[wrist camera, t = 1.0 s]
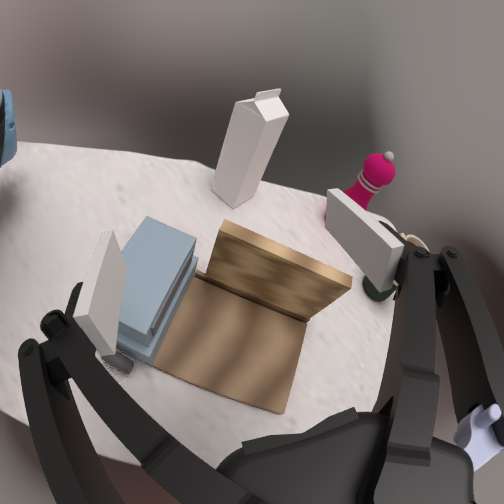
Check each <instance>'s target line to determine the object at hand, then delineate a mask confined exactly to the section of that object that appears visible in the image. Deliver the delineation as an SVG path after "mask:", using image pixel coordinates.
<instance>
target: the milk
mask: <svg viewBox="0 0 504 504" xmlns="http://www.w3.org/2000/svg"><path fill="white" fill-rule="evenodd" d="M280 92H281V89H274V90H269V91H263V92H258V93H257V94H256V96H255V98H253V99H248V100H244V101H240V102H236V103H235V107H234V110H233V113H232V116H231V120H230V123H229V126H228V130H227V133H226V137H225V141H224V144H223V147H222V151H221V155H220V159H219V161H218V165H217V169H216V173H215V176H214V180H213V184H212V188H211V190H212V191H213V192H214V193H215V194H216V195H217V196H219V197H220V198H221V199H222V200H223V201H224V202H225V203H227V204H228V205H229V206H230V207H231V208H232V209H234V208H236V207H237V206H239V205H240V204H242V203H243V202H245V201H246V200H248V199H250V198H251V197H253V196H254V194H255V191H256V189H257V187H258V184H259V182H260V180H261V177H262V175H263V172H264V171H265V168H266V166H267V164H268V161H269V159H270V157H271V154H272V152H273V150H274V148H275V145H276V143H277V141H278V139H279V136H280V134H281V132H282V130H283V127H284V125H285V123H286V120H287V118H288V116H289V114H288V112H287V110H286V109H285V107H284V105H283V104H282V102H281V100H280V99H279V94H280Z"/></svg>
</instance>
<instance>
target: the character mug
mask: <svg viewBox="0 0 504 504" xmlns="http://www.w3.org/2000/svg"><path fill="white" fill-rule="evenodd" d="M399 235H400V236H402V237H403V238H404V239H405V240H406V241H407V242H408V243H409V244H410V245H411V246H412V247H413V246H420V247H423V248H425V249H427V250H428V248H427V247H426V245H425V244H424V243H423V242H422V241H421V240H420V239H419V238H418V237H416V236H414V235H407V236H406V237H405V235H404V234H403V233H401V234H399ZM428 251H429V250H428ZM397 286H398V284H397V282H396V281H395V280H394V282H393V285H392V288H391V289H389V290H386V291H383V292H381V293H380V292H379V291H378V290H377V289H376V287H375V286H374V285H373V284H372V282H371V281H370V280H369V279H368V277H367V276H366V275H365V278H364V287H365V290H366V291H367V292H368V294H369V295H370V296H371V297H373V298H374V299H376V300H379V301H383V300H385V299H387V298H388V297H389V296H390V295H391V294H392V293H393V292H394V291H395V290H396V289H397Z"/></svg>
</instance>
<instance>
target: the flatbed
mask: <svg viewBox="0 0 504 504" xmlns="http://www.w3.org/2000/svg"><path fill="white" fill-rule="evenodd" d="M205 275H206V274H205V273H203V272H200V271H198V270H196V272H195V276H194V277H193V279H192V281H191V284H190V286H189V288H188V290H187V292H186V294H185V296H184V298H183V300H182V302H181V304H180V306H179V308H178V310H177V312H176V314H175V316H174V318H173V321H172V323H171V325H170V327H169V329H168V331H167V333H166V335H165V338H164V340H163V342H162V344H161V346H160V348H159V351H158V353H157V355H156V357H155V359H154V362H153V364H152V366H153V367H155V368H157V369H159V370H161V371H163V372H166V373H168V374H170V375H172V376H174V377H177V378H179V379H181V380H184V381H186V382H188V383H191V384H193V385H196V386H198V387H201V388H203V389H206V390H208V391H211V392H214V393H216V394H219V395H222V396H225V397H227V398H230V399H233V400H236V401H239V402H242V403H245V404H248V405H251V406H254V407H258V408H261V409H264V410H268V411H271V412H275V413H278V414H284V411H285V408H286V404H287V401H288V397H289V394H290V390H291V386H292V383H293V379H294V375H295V371H296V368H297V364H298V360H299V356H300V352H301V348H302V344H303V339H304V335H305V331H306V327H307V324H306V323H307V322H308V321H309V320H310V319H307V318H305V317H302V316H300V315H297V314H295V313H292V312H290V311H287V310H285V309H282V308H280V307H277V306H275V305H273V304H270V303H268V302H265V301H263V300H261V299H258V298H256V297H253V296H251V295H249V294H246V293H244V292H242V291H239V290H237V289H235V288H232V287H230V286H228V285H225V284H223V283H221V282H218V281H216V280H214V279H212V278H209V277H207V276H205Z"/></svg>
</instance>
